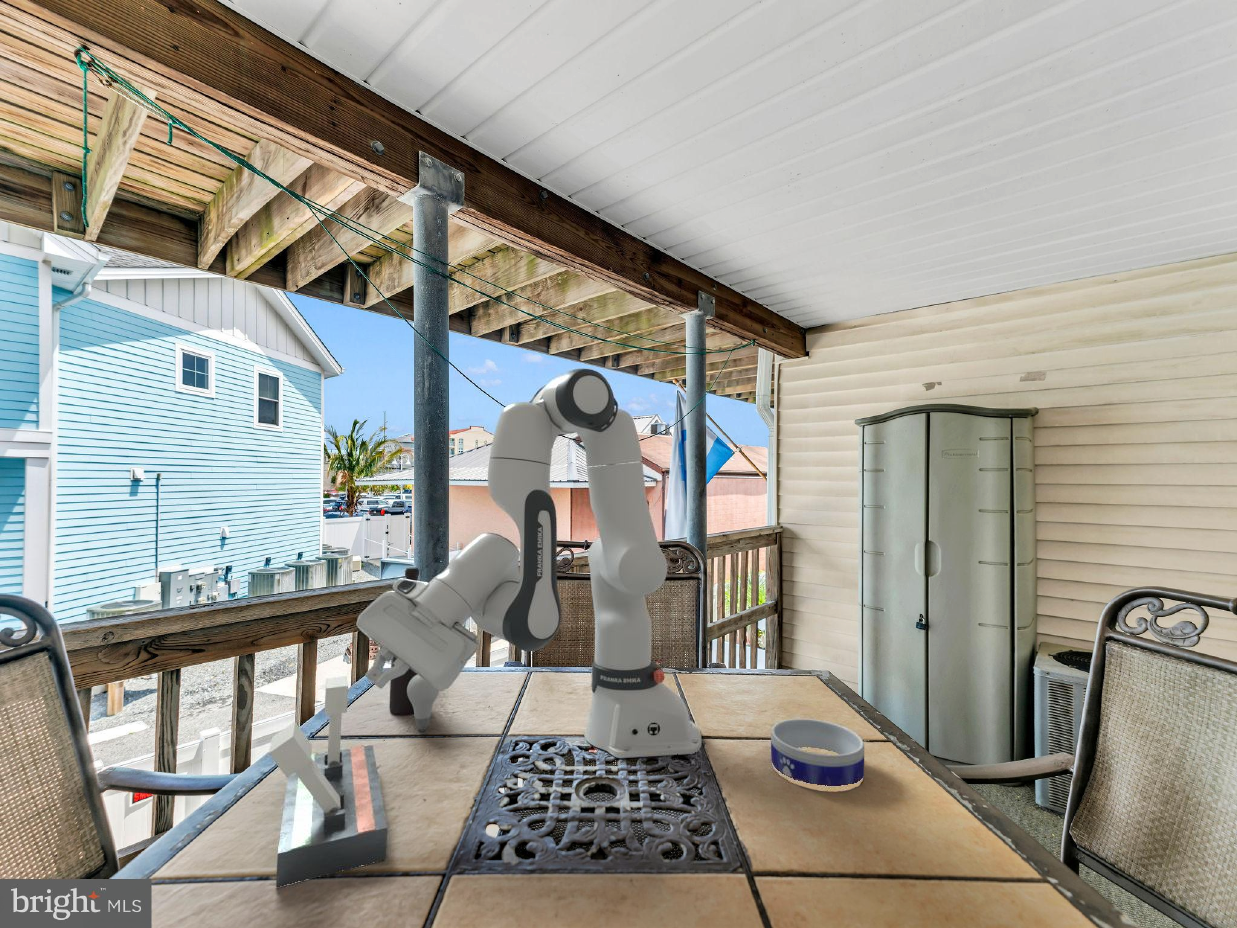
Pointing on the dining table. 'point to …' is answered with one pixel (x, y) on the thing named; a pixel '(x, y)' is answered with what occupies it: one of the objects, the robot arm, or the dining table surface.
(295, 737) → the on lever
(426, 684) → the lightbulb
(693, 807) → the dining table surface
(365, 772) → the breaker box
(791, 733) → the dog bowl
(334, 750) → the lever
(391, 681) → the wine bottle
